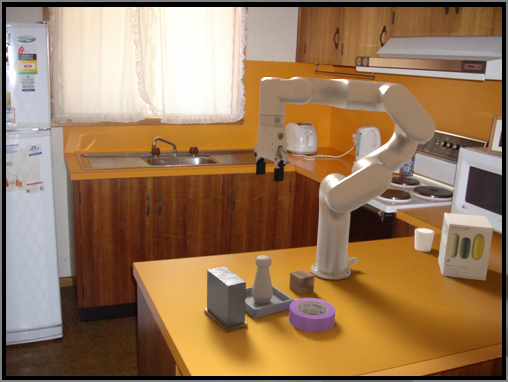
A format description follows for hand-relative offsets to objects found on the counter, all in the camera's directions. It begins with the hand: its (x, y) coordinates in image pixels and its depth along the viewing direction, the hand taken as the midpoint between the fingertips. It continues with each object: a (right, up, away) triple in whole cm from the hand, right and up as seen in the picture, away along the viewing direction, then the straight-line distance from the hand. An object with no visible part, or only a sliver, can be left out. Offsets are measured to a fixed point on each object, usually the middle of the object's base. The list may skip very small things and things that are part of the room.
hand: (269, 177), depth 156 cm
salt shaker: (-2, -34, -14) cm, 37 cm away
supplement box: (+63, -30, +13) cm, 71 cm away
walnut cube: (+9, -33, -5) cm, 34 cm away
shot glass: (+56, -25, +32) cm, 70 cm away
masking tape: (+10, -38, -22) cm, 45 cm away
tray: (-2, -35, -14) cm, 38 cm away
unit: (-12, -37, -23) cm, 45 cm away
